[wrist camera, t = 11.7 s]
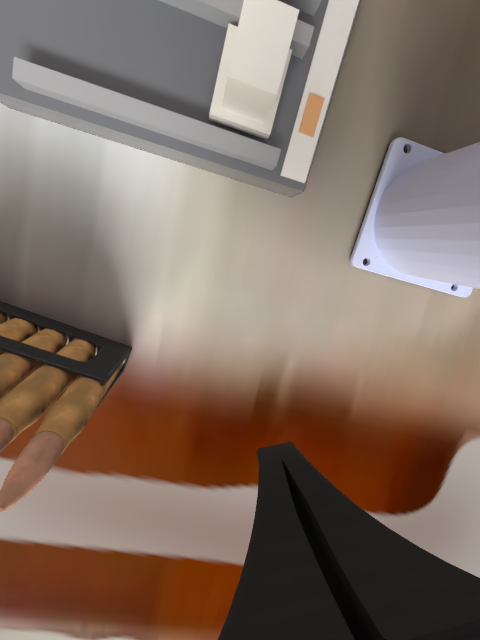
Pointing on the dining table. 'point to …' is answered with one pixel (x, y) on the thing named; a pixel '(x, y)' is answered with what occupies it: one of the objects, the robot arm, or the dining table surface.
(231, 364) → the dining table surface
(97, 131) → the switch bank
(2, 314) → the ammunition clip
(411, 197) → the robot arm
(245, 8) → the tab
